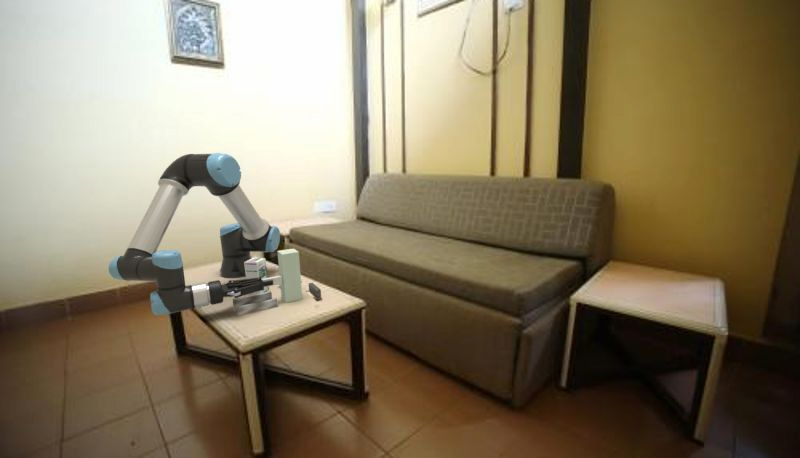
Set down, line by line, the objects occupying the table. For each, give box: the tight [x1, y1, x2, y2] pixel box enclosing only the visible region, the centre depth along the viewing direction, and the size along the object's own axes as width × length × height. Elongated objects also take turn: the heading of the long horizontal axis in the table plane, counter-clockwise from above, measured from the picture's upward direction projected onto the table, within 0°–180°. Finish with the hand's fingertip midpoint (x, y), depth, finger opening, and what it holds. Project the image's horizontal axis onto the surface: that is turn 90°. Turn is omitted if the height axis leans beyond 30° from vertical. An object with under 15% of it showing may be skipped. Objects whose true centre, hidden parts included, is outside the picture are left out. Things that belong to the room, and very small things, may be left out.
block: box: [276, 248, 303, 304], centre depth 133 cm, size 6×6×18 cm
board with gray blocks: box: [232, 282, 323, 317], centre depth 132 cm, size 30×10×4 cm, turn 123°
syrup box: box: [244, 257, 270, 295], centre depth 140 cm, size 6×6×14 cm
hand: (281, 279), depth 131 cm, fingers closed
